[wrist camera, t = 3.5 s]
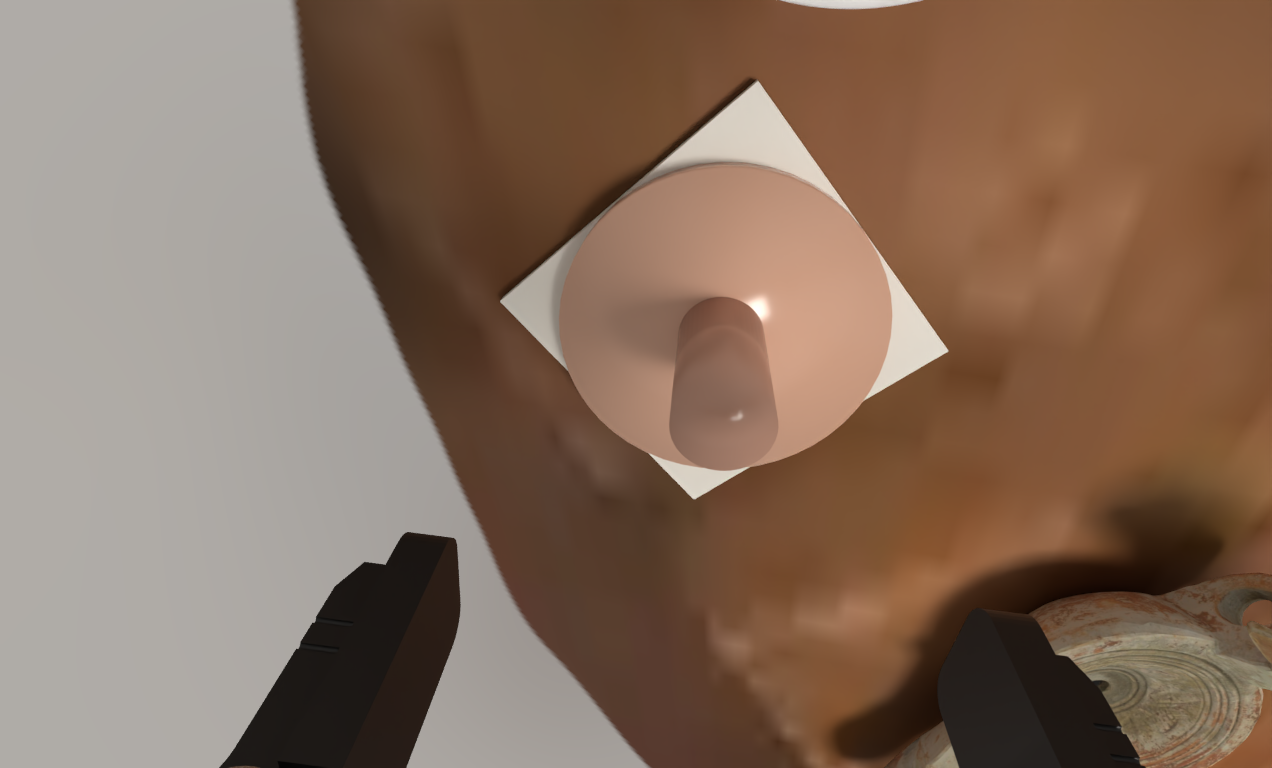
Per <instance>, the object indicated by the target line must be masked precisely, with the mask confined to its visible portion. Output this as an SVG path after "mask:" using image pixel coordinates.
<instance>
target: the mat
mask: <svg viewBox="0 0 1272 768" xmlns="http://www.w3.org/2000/svg"><path fill="white" fill-rule="evenodd" d="M715 162H743V163H751V164H757V165H763V166H769V167H772V168H776V169H779V170H782V171H785V172H788V173H791V174H794V175H796V176H798V177H800V178H802V179H804V180H806V181H808V182H810V183H812V184H814V185H815V186H817V187H818V188H820V189H821V190H823V191H824V192H826V193H827V194H829V195H830V196H832V197H833V198H834V199H835V200H836V201H837V202H838V203H839V204H841V205H842V206H843V207H844V208H845V209H846V210H847V211H848V212H849V213H850V214H851V216H852V217H853V218H854V216H853V215H852V213H851V212H850V210H849V209H848V208H847V206H846V205H845V203H844V202H843V200H842V199H841V198H840V196H839V195H838V193H837V192H836V191H835V189H834V188H833V186H832V185H831V183H830V182H829V181H828V179H827V178H826V176H825V175H824V174H823V172H822V171H821V169H820V168H819V166H818V165H817V164H816V162H815V161H814V159H813V158H812V157H811V155H810V154H809V152H808V151H807V149H806V148H805V147H804V145H803V144H802V142H801V141H800V139H799V138H798V137H797V135H796V134H795V132H794V131H793V130H792V128H791V127H790V125H789V124H788V122H787V121H786V120H785V118H784V117H783V115H782V114H781V113H780V111H779V110H778V108H777V107H776V105H775V104H774V103H773V101H772V100H771V98H770V97H769V96H768V94H767V93H766V91H765V90H764V88H763V87H762V86H761V84H760V83H759V81H758V80H756V81H755V82H754V83H752V84H751V85H750V86H749V87H748V88H747V89H745V90H744V91H743V92H742V93H741V94H740V95H738V96H737V97H736V98H735V99H734V100H733V101H731V102H730V103H729V104H728V105H727V106H726V107H724V108H723V109H722V110H721V111H720V112H719V113H717V114H716V115H715V116H714V117H713V118H712V119H710V120H709V121H708V122H707V123H706V124H705V125H703V126H702V127H701V128H700V129H699V130H698V131H696V132H695V133H694V134H693V135H692V136H691V137H689V138H688V139H687V140H686V141H685V142H684V143H682V144H681V145H680V146H679V147H678V148H677V149H675V150H674V151H673V152H672V153H671V154H670V155H668V156H667V157H666V158H665V159H664V160H662V161H661V162H660V163H659V164H658V165H657V166H655V167H654V168H653V169H652V170H651V171H650V172H648V173H647V174H646V175H645V176H644V177H643V178H641V179H640V180H639V181H638V182H637V183H636V184H634V185H633V186H632V187H631V188H630V189H629V190H627V191H626V192H625V193H624V194H623V195H622V196H620V197H619V198H618V199H617V200H616V201H615V202H613V203H612V204H611V205H610V206H609V207H608V208H606V209H605V210H604V211H603V212H602V213H601V214H599V215H598V216H597V217H596V218H595V219H594V220H592V221H591V222H590V223H589V224H588V225H587V226H585V227H584V228H583V229H582V230H581V231H580V232H578V233H577V234H576V235H575V236H574V237H573V238H571V239H570V240H569V241H568V242H567V243H566V244H564V245H563V246H562V247H561V248H560V249H559V250H557V251H556V252H555V253H554V254H553V255H552V256H550V257H549V258H548V259H547V260H546V261H545V262H543V263H542V264H541V265H540V266H539V267H538V268H536V269H535V270H534V271H533V272H532V273H531V274H529V275H528V276H527V277H526V278H525V279H524V280H522V281H521V282H520V283H519V284H518V285H516V286H515V287H514V288H513V289H512V290H511V291H509V292H508V293H507V294H506V295H505V296H504V297H503V298H502V299H501V301H500V302H501V303H502V304H503V305H504V306H505V307H506V308H507V309H508V310H509V311H510V312H511V313H512V314H513V315H514V316H515V317H516V318H517V319H518V320H519V321H520V323H521V324H522V325H523V326H524V327H525V328H526V329H527V330H528V331H529V332H530V333H531V334H532V335H533V336H534V337H535V338H536V339H537V340H538V341H539V342H540V343H541V344H542V345H543V346H544V347H545V348H546V349H547V350H548V351H549V352H550V353H551V354H552V355H553V356H554V357H555V358H556V359H557V360H558V361H559V362H560V363H561V364H562V365H563V366H564V367H565V368H566V369H567V371H568V368H567V365H566V362H565V359H564V356H563V352H562V346H561V341H560V331H559V311H560V301H561V295H562V291H563V287H564V283H565V279H566V277H567V274H568V271H569V269H570V266H571V264H572V261H573V259H574V257H575V256H576V254H577V252H578V250H579V248H580V247H581V245H582V243H583V241H584V240H585V238H586V236H587V234H588V233H589V232H590V230H591V229H592V228H593V227H594V225H595V224H596V223H597V221H598V220H599V219H600V218H601V217H602V216H603V215H604V214H605V213H606V212H607V211H608V210H609V209H610V208H611V207H612V206H613V205H614V204H615V203H616V202H617V201H618V200H620V199H621V198H623V197H624V196H625V195H627V194H628V193H629V192H631V191H632V190H633V189H635V188H637V187H639V186H640V185H642V184H644V183H646V182H648V181H650V180H651V179H653V178H655V177H658V176H661V175H663V174H666V173H668V172H671V171H674V170H676V169H681V168H685V167H689V166H693V165H697V164H705V163H715ZM854 219H855V218H854ZM855 220H856V219H855ZM856 222H857V220H856ZM857 223H858V222H857ZM858 224H859V223H858ZM860 227H861V226H860ZM861 228H862V227H861ZM863 231H864V230H863ZM865 234H866V233H865ZM867 237H868V236H867ZM868 238H869V237H868ZM869 240H870V239H869ZM870 242H871V240H870ZM871 243H872V242H871ZM872 245H873V247H874V249H875V250H876V252H877V254H878V255H879V258H880V260H881V263H882V265H883V268H884V270H885V273H886V276H887V280H888V285H889V289H890V293H891V303H892V329H891V338H890V342H889V347H888V351H887V356H886V358H885V361H884V363H883V366H882V369H881V371H880V374H879V376H878V378H877V379H876V381H875V383H874V385H873V387H872V389H871V390H870V392H869V393H868V395H867V396H866V398H865V399H864V400H866V399H867V398H869V397H871V396H872V395H874V394H876V393H878V392H879V391H881V390H883V389H884V388H886V387H888V386H890V385H891V384H893V383H895V382H896V381H898V380H900V379H902V378H903V377H905V376H907V375H908V374H910V373H912V372H914V371H915V370H917V369H919V368H920V367H922V366H924V365H926V364H927V363H929V362H931V361H932V360H934V359H936V358H938V357H939V356H941V355H943V354H945V353H946V352H948V350H947V348H946V347H945V345H944V344H943V342H942V341H941V340H940V338H939V337H938V335H937V334H936V332H935V331H934V330H933V328H932V327H931V325H930V324H929V322H928V321H927V320H926V318H925V317H924V315H923V314H922V313H921V311H920V310H919V308H918V307H917V305H916V304H915V303H914V301H913V300H912V298H911V297H910V296H909V294H908V293H907V291H906V290H905V288H904V287H903V286H902V284H901V283H900V281H899V280H898V279H897V277H896V276H895V274H894V273H893V271H892V270H891V269H890V267H889V266H888V264H887V263H886V261H885V260H884V259H883V257H882V256H881V254H880V253H879V252H878V250H877V249H876V247H875V246H874V244H873V243H872ZM568 372H569V371H568ZM864 400H863V401H864ZM650 455H651V456H652V457H653V458H654V459H655V460H656V461H657V462H658V463H659V464H660V465H661V467H662V468H663V469H664V470H665V471H666V472H667V473H668V474H669V475H670V476H671V477H672V478H673V479H674V480H675V481H676V482H677V483H678V484H679V485H680V486H681V487H682V488H683V489H684V490H685V491H686V492H687V493H688V494H689V495H690V496H691V497H692V498H693V499H696V498H697V497H699V496H701V495H703V494H704V493H706V492H708V491H709V490H711V489H713V488H715V487H716V486H718V485H720V484H721V483H723V482H725V481H727V480H728V479H730V478H732V477H733V476H735V475H737V474H739V473H740V472H742V471H744V470H745V469H747V468H749V467H745V468H741V469H737V470H730V471H718V470H711V469H707V468H699V467H693V466H688V465H682V464H678V463H675V462H671V461H668V460H665V459H662V458H659V457H657V456H654V455H652V454H650Z"/></svg>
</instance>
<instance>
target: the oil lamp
mask: <svg viewBox="0 0 1272 768" xmlns="http://www.w3.org/2000/svg"><path fill="white" fill-rule="evenodd" d="M1259 600H1270V601H1272V575H1269V574H1263V573H1250V574H1236V575H1228V576H1224V577H1220V578H1216V579H1213V580H1209V581H1205V582H1202V583H1199V584H1196V585H1192V586H1187V587H1184V588H1181V589H1179V590H1176V591H1172V592H1169V593H1166V594H1163V595H1157V596H1152V595H1149V594H1144V593H1137V592H1123V591H1119V592H1097V593H1088V594H1081V595H1075V596H1070V597H1066V598H1062V599H1058V600H1055V601H1052V602H1050V603H1047V604H1045V605H1043V606H1041V607H1040V608H1038V609H1036V610H1034V611H1032V612H1031V613H1029V614H1028V615H1030V616H1032V617H1033V618H1034V619H1035V620H1036V621H1037V622H1038V623H1039V625H1040V627H1041V628H1042V630H1043V632H1044V634H1045V636H1046V637H1047V639H1048V641H1049V643H1050V645H1051V647H1052V648H1053V650H1054V652H1055V654H1056V655H1062V656H1068V657H1069V658H1070V659H1071V660H1072V661H1073V662H1074V663H1075V664H1076V665H1077V666H1078V667H1079V668H1080V669H1081V670H1082V671H1083V672H1084V673H1085V674H1086V675H1087V676H1088V677H1089V678H1090V679H1091V680H1092V681H1093V683H1094V684H1095V685H1096V686H1097V687H1098V688H1099V689H1100V690H1101V691H1102V693H1103V695H1104V697H1105V698H1106V700H1107V702H1108V703H1109V705H1110V707H1111V709H1112V710H1113V712H1114V714H1115V716H1116V717H1117V719H1118V721H1119V722H1120V724H1121V726H1122V728H1121V730H1122V733H1123V734H1127V736H1128V738H1129V740H1130V741H1131V743H1132V745H1133V747H1134V748H1135V750H1136V752H1137V753H1138V755H1139V757H1140V759H1139V762H1140V764H1141V765H1142V766H1145V767H1146V768H1208V767H1210V766H1212V765H1214V764H1215V763H1217V762H1218V761H1220V760H1221V759H1223V758H1224V757H1226V756H1227V755H1229V754H1230V753H1231V752H1232V751H1233V750H1234V749H1236V748H1237V747H1238V746H1239V745H1240V744H1241V743H1242V742H1243V741H1244V740H1245V739H1246V738H1247V737H1248V736H1249V734H1250V733H1251V731H1252V729H1253V727H1254V726H1255V724H1256V722H1257V720H1258V719H1259V717H1260V713H1261V707H1262V701H1263V691H1262V688H1264V689H1268V690H1272V624H1269V625H1264V626H1263V625H1261V624H1259V623H1257V622H1254V621H1250V622H1248V623H1247V626H1243V625H1242V617H1243V612H1244V611H1245V610H1246V608H1247V607H1248V606H1249V605H1250V604H1252V603H1254V602H1256V601H1259ZM884 768H959V766H958V763H957V760H956V757H955V754H954V751H953V748H952V745H951V742H950V739H949V736H948V733H947V730H946V727H945V724H944V721H942V722H941V723H939V724H938V725H937V726H935V727H934V728H932V729H931V730H929V731H928V732H926V733H925V734H923V735H922V736H921V737H919V738H918V739H917V740H916V741H914V742H913V743H912V744H910V745H909V746H908V747H907V748H905V749H904V750H903V751H902V752H900V753H899V754H898V755H897V756H896V757H895V758H894V759H893V760H892V761H891V762H890V763H889V764H888V765H887V766H885V767H884Z"/></svg>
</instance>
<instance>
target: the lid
mask: <svg viewBox="0 0 1272 768" xmlns="http://www.w3.org/2000/svg"><path fill="white" fill-rule="evenodd" d="M891 329H892V303H891V293H890V289H889V285H888V280H887V276H886V273H885V270H884V268H883V265H882V263H881V260H880V258H879V255H878V254H877V252H876V250H875V249H874V247H873V245H872V243H871V242H870V240H869V238H868V237H867V235H866V234H865V232H864V231H863V229H862V228H861V227H860V225H859V224H858V223H857V222H856V220H855V219H854V218H853V217H852V216H851V214H850V213H849V212H848V211H847V210H846V209H845V208H844V207H843V206H842V205H841V204H839V203H838V202H837V201H836V200H835V199H834V198H833V197H832V196H830V195H829V194H827V193H826V192H824V191H823V190H821V189H820V188H818V187H817V186H815V185H814V184H812V183H810V182H808V181H806V180H804V179H802V178H800V177H798V176H796V175H794V174H791V173H788V172H785V171H782V170H779V169H776V168H772V167H769V166H763V165H757V164H751V163H743V162H715V163H705V164H697V165H693V166H689V167H685V168H681V169H676V170H674V171H671V172H668V173H666V174H663V175H661V176H658V177H655V178H653V179H651V180H650V181H648V182H646V183H644V184H642V185H640V186H639V187H637V188H635V189H633V190H632V191H631V192H629V193H628V194H627V195H625V196H624V197H623V198H621V199H620V200H618V201H617V202H616V203H615V204H614V205H613V206H612V207H611V208H610V209H609V210H608V211H607V212H606V213H605V214H604V215H603V216H602V217H601V218H600V219H599V220H598V221H597V223H596V224H595V225H594V227H593V228H592V229H591V230H590V232H589V233H588V234H587V236H586V238H585V240H584V241H583V243H582V245H581V247H580V248H579V250H578V252H577V254H576V256H575V257H574V259H573V261H572V264H571V266H570V269H569V271H568V274H567V277H566V279H565V283H564V287H563V291H562V295H561V301H560V311H559V331H560V341H561V346H562V352H563V356H564V359H565V362H566V365H567V368H568V371H569V374H570V376H571V378H572V380H573V382H574V384H575V386H576V388H577V390H578V392H579V393H580V395H581V396H582V398H583V399H584V401H585V402H586V404H587V405H588V406H589V408H590V409H591V410H592V411H593V412H594V413H595V414H596V416H597V417H598V418H599V419H600V420H601V421H602V422H603V423H604V424H605V425H607V426H608V427H609V428H610V429H611V430H612V431H613V432H614V433H616V434H617V435H619V436H620V437H621V438H623V439H624V440H626V441H627V442H629V443H630V444H632V445H634V446H636V447H638V448H639V449H641V450H643V451H645V452H647V453H649V454H652V455H654V456H657V457H659V458H662V459H665V460H668V461H671V462H675V463H678V464H682V465H688V466H693V467H699V468H707V469H711V470H718V471H730V470H737V469H741V468H745V467H752V466H758V465H762V464H766V463H770V462H774V461H778V460H781V459H783V458H786V457H789V456H791V455H794V454H796V453H798V452H800V451H802V450H804V449H806V448H808V447H810V446H812V445H814V444H816V443H817V442H819V441H820V440H822V439H823V438H825V437H826V436H828V435H829V434H831V433H832V432H833V431H834V430H835V429H837V428H838V427H839V426H840V425H842V424H843V423H844V422H845V421H846V420H847V419H848V418H849V417H850V416H851V415H852V414H853V413H854V411H855V410H856V409H857V408H858V407H859V406H860V404H861V403H862V402H863V400H864V399H865V398H866V396H867V395H868V393H869V392H870V390H871V389H872V387H873V385H874V383H875V381H876V379H877V378H878V376H879V374H880V371H881V369H882V366H883V363H884V361H885V358H886V356H887V351H888V347H889V342H890V338H891Z"/></svg>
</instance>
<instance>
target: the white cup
mask: <svg viewBox="0 0 1272 768" xmlns="http://www.w3.org/2000/svg"><path fill="white" fill-rule="evenodd" d="M781 1H785V2H789V3H793V4H799V5H804V6H811V7H819V8H830V9H869V8H881V7H889V6H896V5H903V4H908V3H913V2H917V1H922V0H781Z"/></svg>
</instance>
